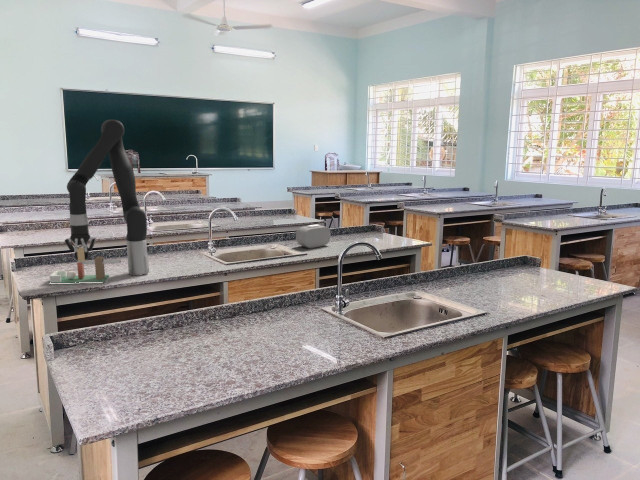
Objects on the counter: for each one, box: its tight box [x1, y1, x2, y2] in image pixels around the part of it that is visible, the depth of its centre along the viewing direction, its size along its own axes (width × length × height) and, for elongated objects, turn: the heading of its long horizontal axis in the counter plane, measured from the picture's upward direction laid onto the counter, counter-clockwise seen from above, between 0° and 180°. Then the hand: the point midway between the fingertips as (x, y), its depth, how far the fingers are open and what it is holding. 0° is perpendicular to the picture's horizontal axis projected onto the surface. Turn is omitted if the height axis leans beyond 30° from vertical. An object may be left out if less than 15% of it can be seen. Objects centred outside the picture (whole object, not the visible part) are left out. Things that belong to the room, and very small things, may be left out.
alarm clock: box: [295, 224, 332, 249], centre depth 319 cm, size 21×10×13 cm, turn 130°
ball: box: [66, 270, 77, 279], centre depth 241 cm, size 4×4×4 cm
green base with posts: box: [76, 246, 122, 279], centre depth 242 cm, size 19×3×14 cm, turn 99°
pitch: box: [49, 255, 110, 283], centre depth 241 cm, size 24×11×11 cm, turn 99°
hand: (82, 259), depth 241 cm, fingers closed on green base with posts, 3 cm apart
